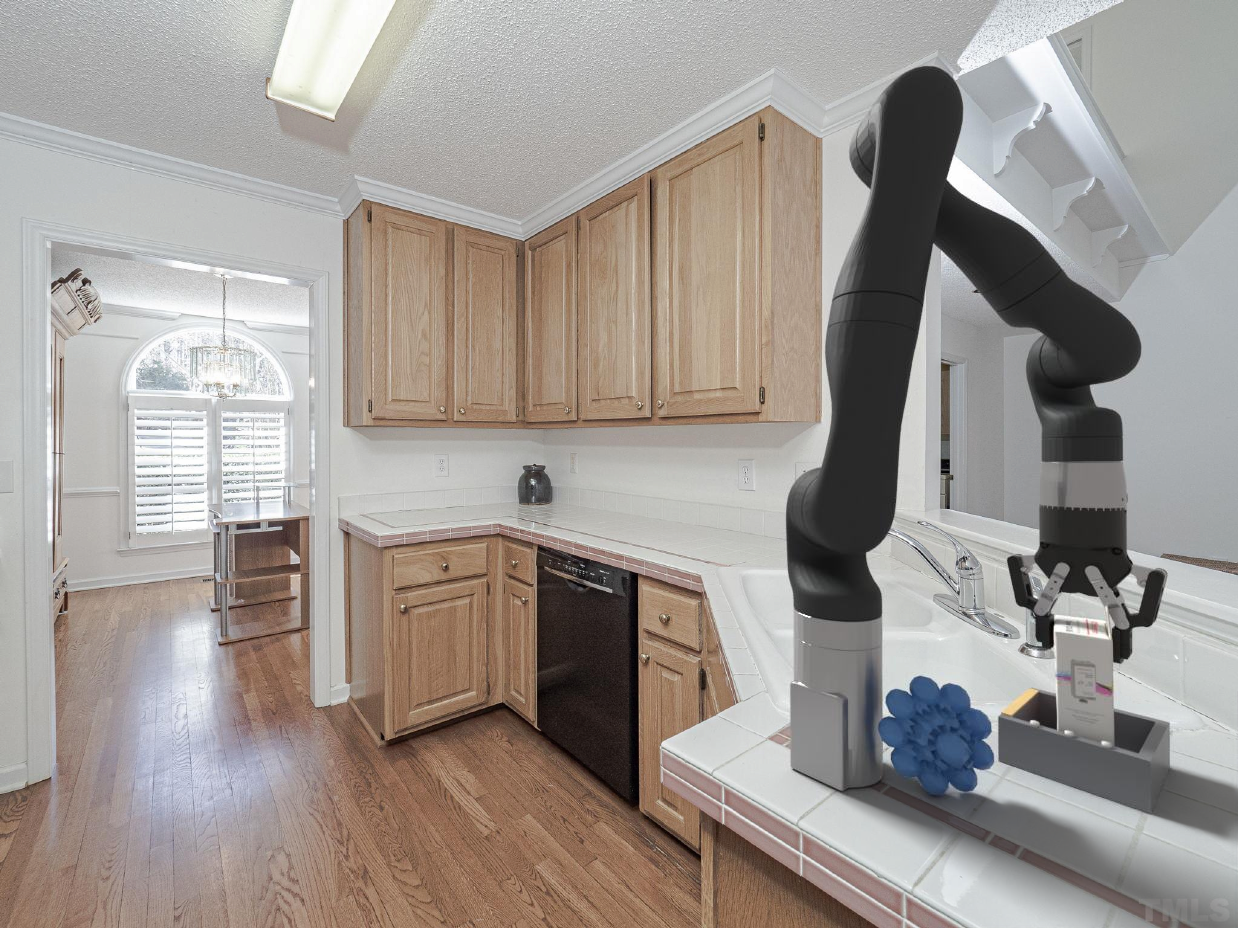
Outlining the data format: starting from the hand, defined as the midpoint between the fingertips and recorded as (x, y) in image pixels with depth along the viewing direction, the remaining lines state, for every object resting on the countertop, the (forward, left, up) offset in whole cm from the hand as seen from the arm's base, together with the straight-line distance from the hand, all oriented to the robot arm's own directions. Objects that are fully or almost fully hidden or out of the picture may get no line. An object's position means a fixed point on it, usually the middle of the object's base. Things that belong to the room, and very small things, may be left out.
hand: (1082, 653), depth 63 cm
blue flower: (-19, +8, -12) cm, 24 cm away
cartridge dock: (0, 0, -12) cm, 12 cm away
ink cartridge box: (0, 0, -9) cm, 9 cm away
